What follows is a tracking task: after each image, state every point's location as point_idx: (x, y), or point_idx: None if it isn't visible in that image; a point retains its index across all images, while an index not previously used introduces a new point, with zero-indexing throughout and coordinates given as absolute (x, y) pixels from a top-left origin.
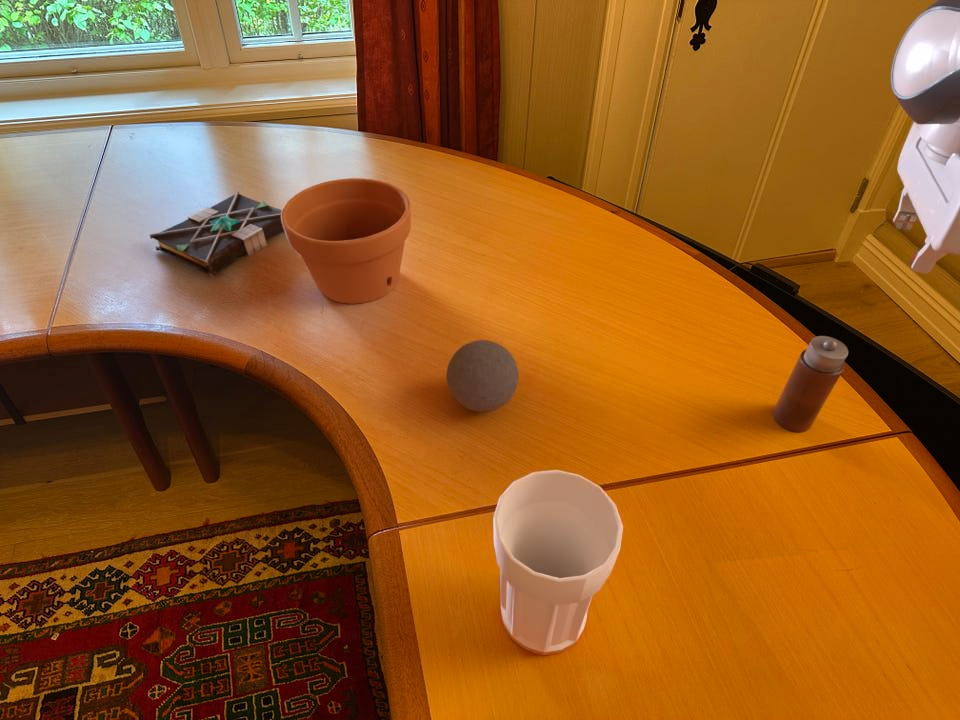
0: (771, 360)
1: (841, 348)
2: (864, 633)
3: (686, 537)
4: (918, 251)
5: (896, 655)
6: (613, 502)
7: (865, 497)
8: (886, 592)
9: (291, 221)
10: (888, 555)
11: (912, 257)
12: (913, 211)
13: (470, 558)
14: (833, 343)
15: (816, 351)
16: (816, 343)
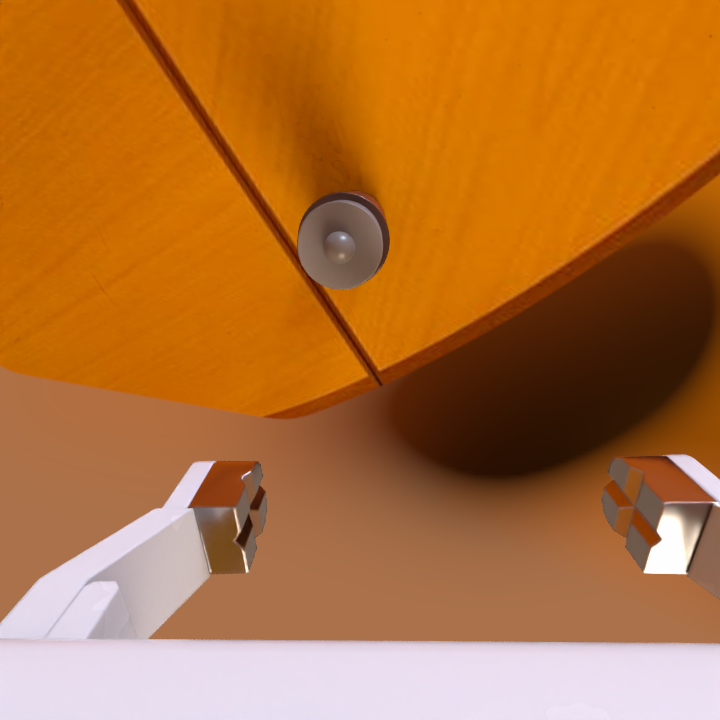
0: (506, 189)
1: (344, 275)
2: (27, 300)
3: (15, 47)
4: (225, 516)
5: (23, 329)
6: None
7: (233, 322)
8: (96, 329)
9: None
10: (151, 338)
11: (237, 480)
12: (704, 567)
13: None
14: (331, 252)
15: (310, 214)
16: (343, 216)
